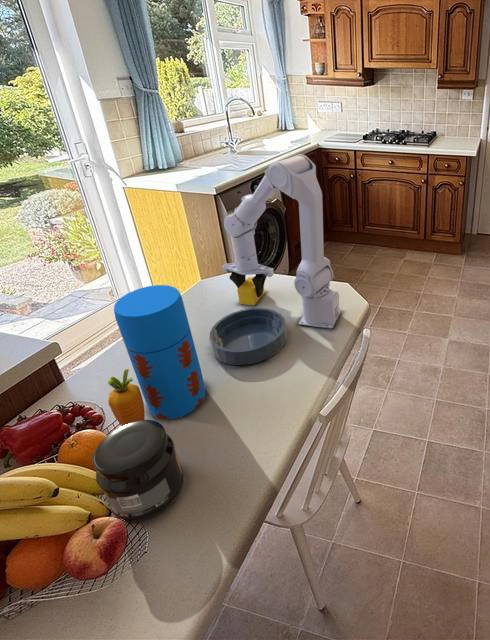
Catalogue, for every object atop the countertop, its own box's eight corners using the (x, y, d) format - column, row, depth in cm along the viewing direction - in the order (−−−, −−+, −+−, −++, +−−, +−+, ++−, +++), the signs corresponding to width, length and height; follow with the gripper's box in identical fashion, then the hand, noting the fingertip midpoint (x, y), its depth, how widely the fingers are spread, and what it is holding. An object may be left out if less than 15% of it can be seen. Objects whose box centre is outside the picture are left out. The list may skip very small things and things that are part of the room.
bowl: (297, 325, 109) (295, 311, 107) (268, 371, 93) (266, 356, 91) (236, 318, 111) (233, 304, 109) (197, 361, 95) (193, 346, 93)
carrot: (147, 418, 81) (126, 360, 74) (158, 432, 78) (137, 373, 71) (119, 434, 77) (94, 375, 70) (130, 449, 74) (105, 389, 68)
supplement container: (169, 452, 74) (153, 405, 69) (196, 490, 68) (180, 442, 62) (103, 494, 67) (78, 445, 61) (126, 541, 61) (101, 491, 55)
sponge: (264, 292, 123) (262, 278, 120) (254, 305, 116) (251, 290, 114) (251, 291, 123) (248, 277, 121) (239, 304, 117) (237, 289, 115)
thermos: (183, 424, 80) (151, 321, 68) (136, 415, 81) (97, 312, 70) (216, 385, 89) (193, 288, 78) (173, 377, 91) (144, 281, 79)
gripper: (276, 249, 116) (281, 289, 122) (228, 244, 118) (236, 284, 124) (265, 260, 110) (271, 302, 116) (215, 255, 111) (223, 297, 118)
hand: (252, 294), depth 119 cm, fingers closed on sponge, 4 cm apart
